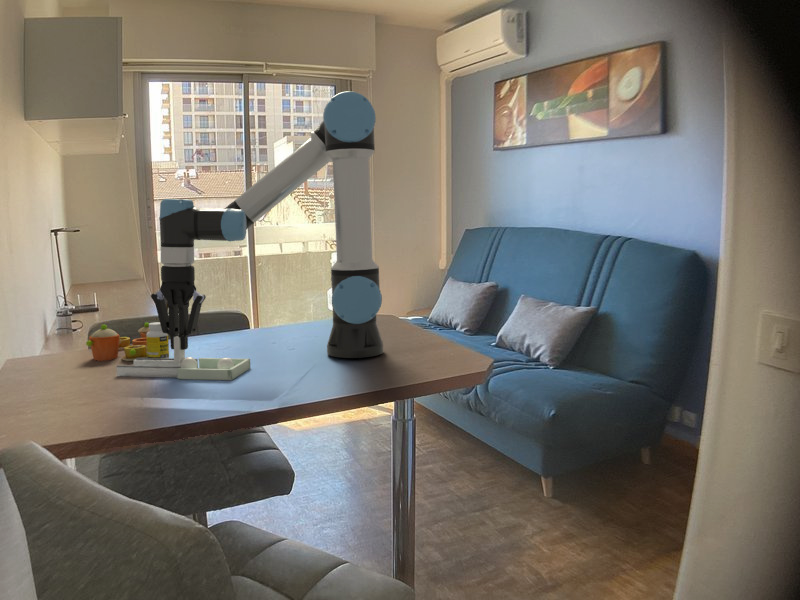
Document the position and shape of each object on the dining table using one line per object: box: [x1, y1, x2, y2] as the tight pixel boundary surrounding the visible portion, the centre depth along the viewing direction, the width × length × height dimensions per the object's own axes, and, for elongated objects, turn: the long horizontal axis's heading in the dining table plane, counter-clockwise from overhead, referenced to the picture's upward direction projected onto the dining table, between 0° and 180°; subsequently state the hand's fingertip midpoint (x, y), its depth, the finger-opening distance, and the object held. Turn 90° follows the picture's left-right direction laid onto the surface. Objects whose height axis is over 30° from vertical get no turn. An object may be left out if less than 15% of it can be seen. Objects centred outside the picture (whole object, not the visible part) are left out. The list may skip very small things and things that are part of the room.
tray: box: [177, 357, 251, 381], centre depth 151 cm, size 13×12×2 cm
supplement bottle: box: [146, 321, 170, 358], centre depth 167 cm, size 5×5×10 cm
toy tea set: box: [85, 322, 150, 362], centre depth 177 cm, size 26×16×10 cm, turn 7°
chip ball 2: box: [217, 357, 234, 369], centre depth 151 cm, size 4×4×4 cm
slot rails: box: [116, 357, 199, 379], centre depth 153 cm, size 16×9×2 cm, turn 82°
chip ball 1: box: [181, 356, 197, 369], centre depth 152 cm, size 4×4×4 cm
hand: (179, 362), depth 152 cm, fingers closed
